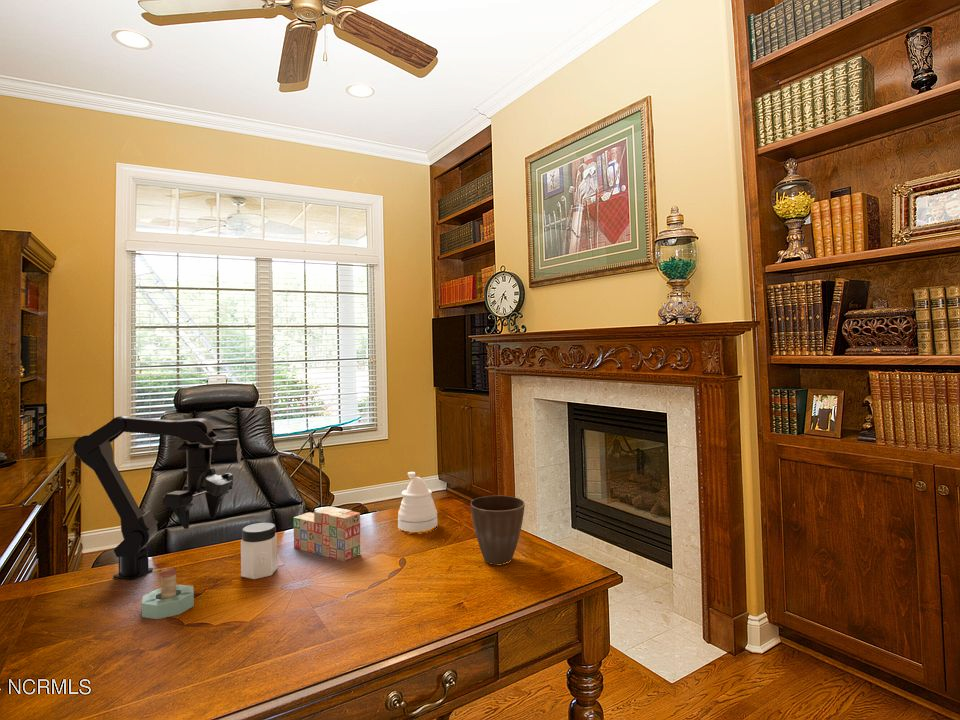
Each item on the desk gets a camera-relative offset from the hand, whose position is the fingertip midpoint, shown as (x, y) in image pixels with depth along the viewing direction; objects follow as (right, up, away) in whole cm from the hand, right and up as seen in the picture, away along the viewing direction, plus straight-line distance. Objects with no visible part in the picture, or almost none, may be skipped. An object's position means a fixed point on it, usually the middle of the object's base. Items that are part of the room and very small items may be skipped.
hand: (199, 523), depth 145 cm
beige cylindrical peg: (+5, -12, -23) cm, 27 cm away
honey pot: (+55, -11, +32) cm, 65 cm away
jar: (+18, -12, -4) cm, 22 cm away
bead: (+5, -12, -23) cm, 27 cm away
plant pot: (+81, -11, +2) cm, 82 cm away
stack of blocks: (+31, -12, +11) cm, 35 cm away
